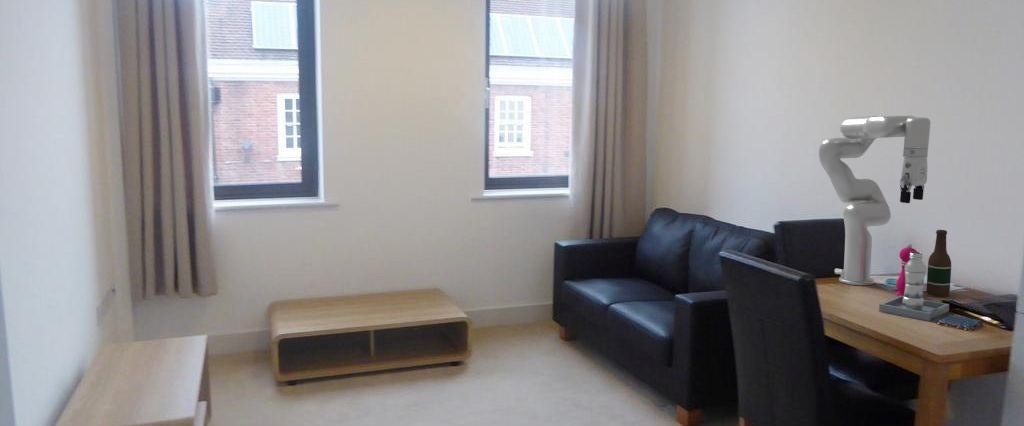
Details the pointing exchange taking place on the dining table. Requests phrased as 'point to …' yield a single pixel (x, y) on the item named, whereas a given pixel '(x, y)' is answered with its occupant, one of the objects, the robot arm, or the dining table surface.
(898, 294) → the pepper mill
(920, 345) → the dining table surface
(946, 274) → the beer bottle
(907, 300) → the plastic bottle
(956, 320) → the woven mat
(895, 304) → the tray
